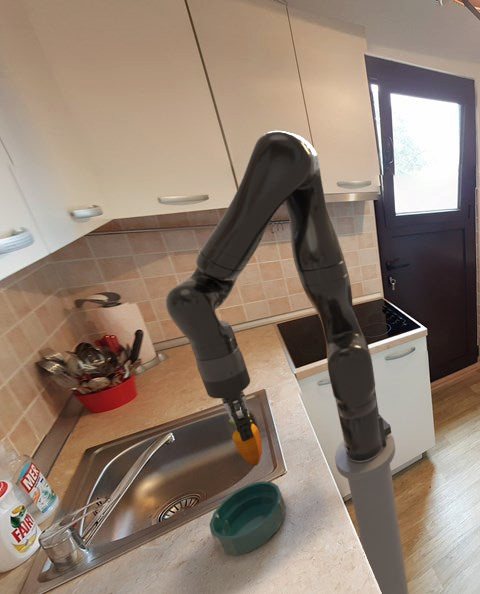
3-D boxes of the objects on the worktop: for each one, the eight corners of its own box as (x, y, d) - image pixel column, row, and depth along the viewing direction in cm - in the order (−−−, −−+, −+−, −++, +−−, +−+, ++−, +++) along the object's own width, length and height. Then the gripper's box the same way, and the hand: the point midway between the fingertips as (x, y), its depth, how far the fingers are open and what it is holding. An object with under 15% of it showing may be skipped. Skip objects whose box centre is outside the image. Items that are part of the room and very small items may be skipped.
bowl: (277, 488, 78) (272, 471, 76) (293, 526, 70) (287, 508, 68) (214, 524, 70) (206, 506, 68) (223, 571, 62) (214, 553, 60)
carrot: (238, 471, 77) (220, 422, 72) (256, 454, 82) (240, 407, 76) (256, 476, 76) (238, 426, 71) (273, 458, 81) (258, 410, 75)
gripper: (252, 377, 66) (272, 441, 73) (238, 350, 76) (257, 408, 82) (205, 393, 62) (231, 460, 68) (197, 362, 71) (220, 423, 78)
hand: (245, 431), depth 75 cm, fingers closed on carrot, 4 cm apart
